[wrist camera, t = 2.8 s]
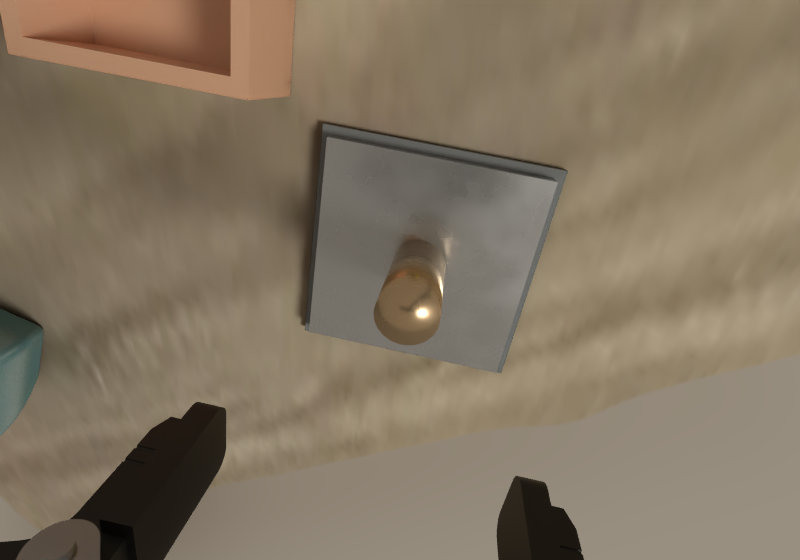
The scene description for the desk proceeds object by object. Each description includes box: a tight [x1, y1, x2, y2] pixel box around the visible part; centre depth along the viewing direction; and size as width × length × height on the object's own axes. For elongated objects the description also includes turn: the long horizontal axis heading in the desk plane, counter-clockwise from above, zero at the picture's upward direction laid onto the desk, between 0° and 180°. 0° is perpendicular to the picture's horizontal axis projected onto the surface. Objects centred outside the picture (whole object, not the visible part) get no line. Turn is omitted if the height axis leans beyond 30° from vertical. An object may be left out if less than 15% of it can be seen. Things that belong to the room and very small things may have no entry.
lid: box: [309, 135, 558, 372], centre depth 23 cm, size 12×12×7 cm
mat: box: [305, 123, 568, 373], centre depth 26 cm, size 13×13×1 cm
